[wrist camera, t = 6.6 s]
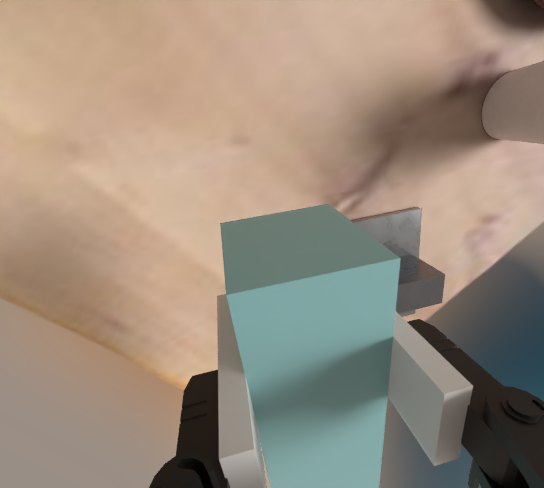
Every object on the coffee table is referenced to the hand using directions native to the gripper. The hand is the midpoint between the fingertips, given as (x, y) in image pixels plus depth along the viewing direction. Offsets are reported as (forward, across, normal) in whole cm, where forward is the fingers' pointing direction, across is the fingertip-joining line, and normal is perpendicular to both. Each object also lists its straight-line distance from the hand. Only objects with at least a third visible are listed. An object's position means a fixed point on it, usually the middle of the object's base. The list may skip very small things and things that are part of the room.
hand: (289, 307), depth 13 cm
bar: (+1, 0, -6) cm, 6 cm away
